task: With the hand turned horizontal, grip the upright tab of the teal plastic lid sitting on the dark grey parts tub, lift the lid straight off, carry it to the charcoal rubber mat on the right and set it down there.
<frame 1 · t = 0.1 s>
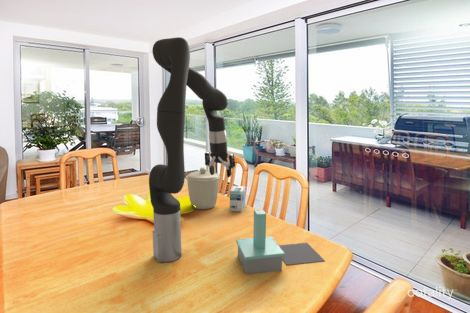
hand: (220, 175, 137), 22 cm above the table, tool pointing down, fingers open, 8 cm apart
canister: (203, 206, 163), on the table
metal spool: (256, 258, 107), point 1 cm above the table, touching tub
light bulb box: (237, 208, 161), on the table
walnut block: (261, 267, 102), point 1 cm above the table, touching tub
tub: (258, 265, 105), on the table
lid: (259, 248, 104), point 6 cm above the table, touching tub
mat: (297, 255, 112), on the table
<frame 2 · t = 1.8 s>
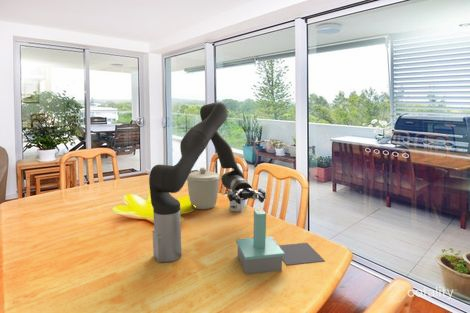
hand: (251, 200, 112), 19 cm above the table, tool horizontal, fingers open, 8 cm apart
nothing on the table moved.
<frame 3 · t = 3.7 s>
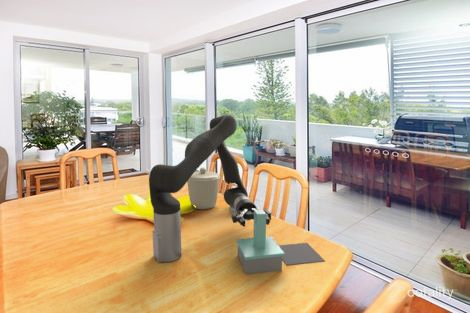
hand: (256, 223, 106), 14 cm above the table, tool horizontal, fingers open, 8 cm apart
nothing on the table moved.
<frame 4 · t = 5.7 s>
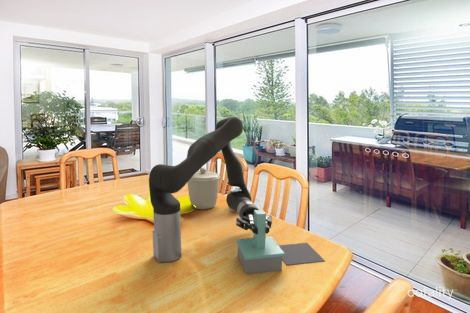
hand: (262, 231, 100), 14 cm above the table, tool horizontal, fingers closed on lid, 3 cm apart
lid: (259, 248, 104), point 6 cm above the table, touching gripper, tub
everything else where it was.
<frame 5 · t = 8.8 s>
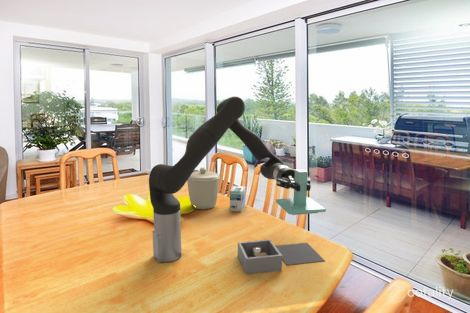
hand: (304, 188, 104), 26 cm above the table, tool horizontal, fingers closed on lid, 3 cm apart
lid: (299, 206, 108), point 19 cm above the table, touching gripper
everything else where it was.
when the fingers open (10 cm above the table, at t = 11.9 s): lid stays where it is, resting on mat.
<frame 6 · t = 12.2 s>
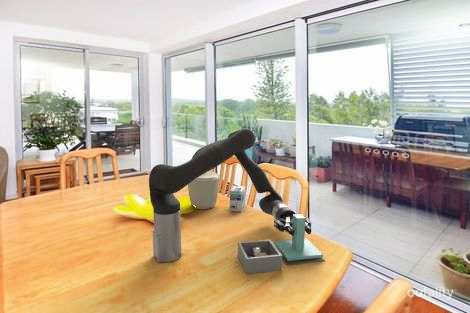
hand: (301, 232, 107), 10 cm above the table, tool horizontal, fingers open, 5 cm apart
lid: (297, 250, 111), point 2 cm above the table, touching mat
everything else where it was.
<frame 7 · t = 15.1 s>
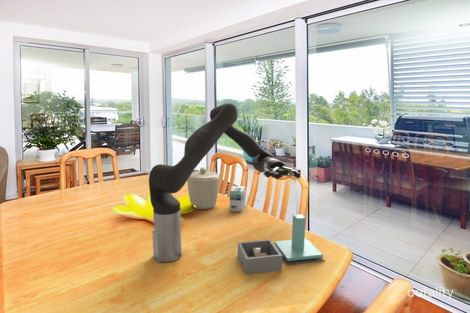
hand: (288, 176, 117), 27 cm above the table, tool horizontal, fingers open, 8 cm apart
nothing on the table moved.
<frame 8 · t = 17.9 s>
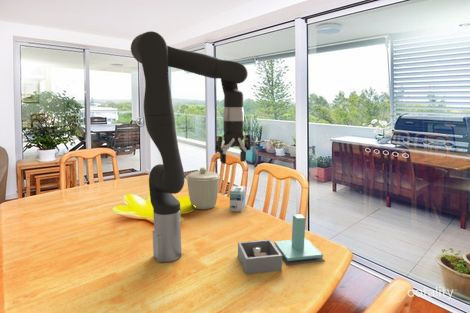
hand: (233, 162, 117), 32 cm above the table, tool pointing down, fingers open, 8 cm apart
nothing on the table moved.
at the end: lid inside the target area on the mat (0.1 cm from its centre), point 2.0 cm above the mat's base; lid tilted 0°; lid touching mat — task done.
